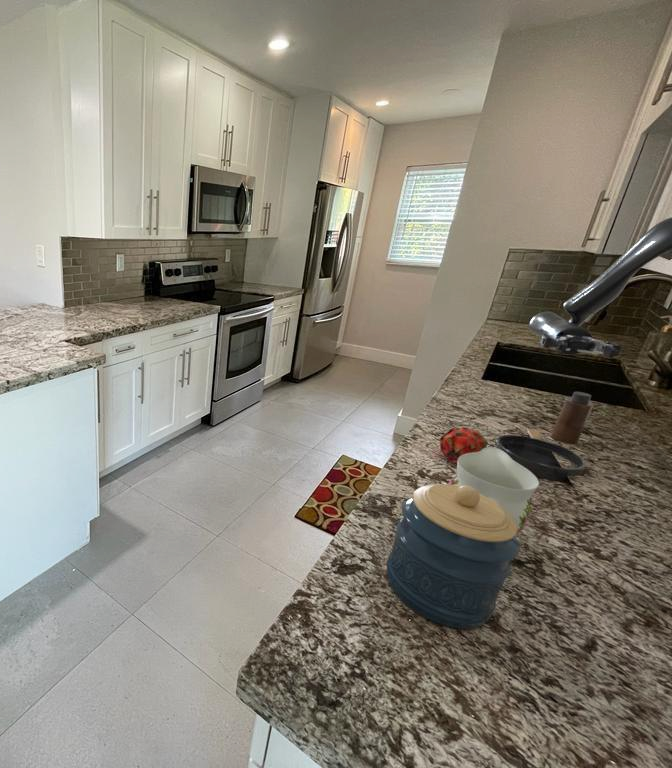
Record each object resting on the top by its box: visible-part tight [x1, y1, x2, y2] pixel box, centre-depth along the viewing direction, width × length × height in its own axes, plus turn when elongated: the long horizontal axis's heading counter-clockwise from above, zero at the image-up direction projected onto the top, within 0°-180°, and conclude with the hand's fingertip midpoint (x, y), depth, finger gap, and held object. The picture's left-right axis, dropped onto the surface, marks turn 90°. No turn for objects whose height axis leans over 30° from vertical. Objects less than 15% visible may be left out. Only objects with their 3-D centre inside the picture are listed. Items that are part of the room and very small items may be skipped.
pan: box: [493, 434, 588, 482], centre depth 92 cm, size 15×15×4 cm
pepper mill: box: [550, 391, 594, 445], centre depth 99 cm, size 5×5×13 cm
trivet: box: [525, 427, 589, 441], centre depth 101 cm, size 12×12×1 cm
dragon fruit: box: [438, 426, 489, 464], centre depth 92 cm, size 8×8×12 cm
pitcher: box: [447, 446, 540, 538], centre depth 67 cm, size 11×18×14 cm, turn 144°
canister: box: [386, 483, 520, 630], centre depth 56 cm, size 13×13×18 cm
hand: (588, 350), depth 99 cm, fingers open, 8 cm apart
